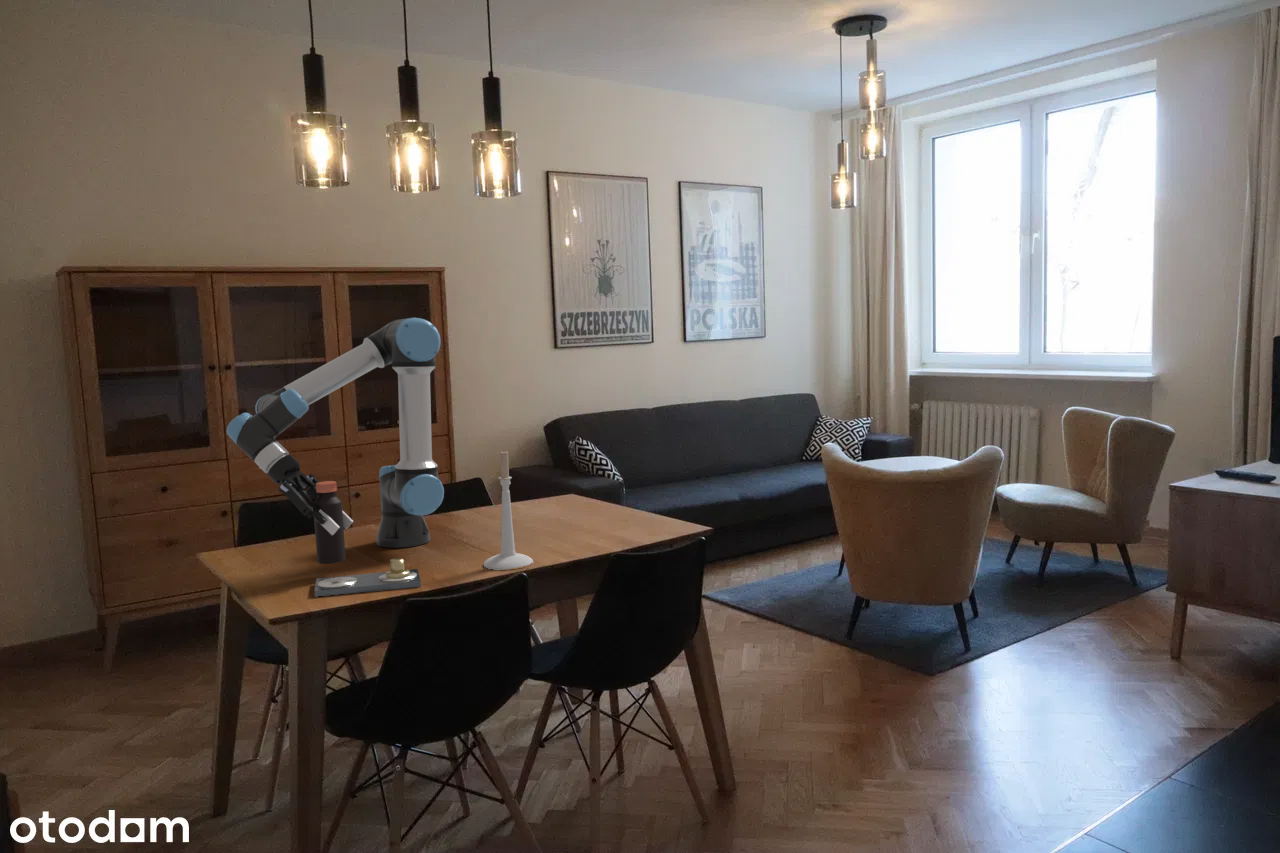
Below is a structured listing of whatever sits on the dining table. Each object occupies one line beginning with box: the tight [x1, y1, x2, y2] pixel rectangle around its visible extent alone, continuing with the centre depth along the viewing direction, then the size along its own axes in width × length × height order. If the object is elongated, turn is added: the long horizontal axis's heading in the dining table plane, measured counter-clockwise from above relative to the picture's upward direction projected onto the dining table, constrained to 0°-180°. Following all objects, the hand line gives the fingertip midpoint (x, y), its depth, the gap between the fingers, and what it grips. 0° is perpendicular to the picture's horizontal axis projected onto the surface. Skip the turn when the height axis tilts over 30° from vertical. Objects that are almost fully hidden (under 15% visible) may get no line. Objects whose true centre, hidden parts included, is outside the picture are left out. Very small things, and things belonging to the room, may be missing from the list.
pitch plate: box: [314, 557, 422, 598], centre depth 224 cm, size 24×12×6 cm, turn 107°
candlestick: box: [483, 451, 534, 571], centre depth 240 cm, size 13×13×30 cm
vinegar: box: [313, 480, 347, 565], centre depth 233 cm, size 7×7×20 cm
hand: (342, 528), depth 232 cm, fingers closed on vinegar, 6 cm apart
